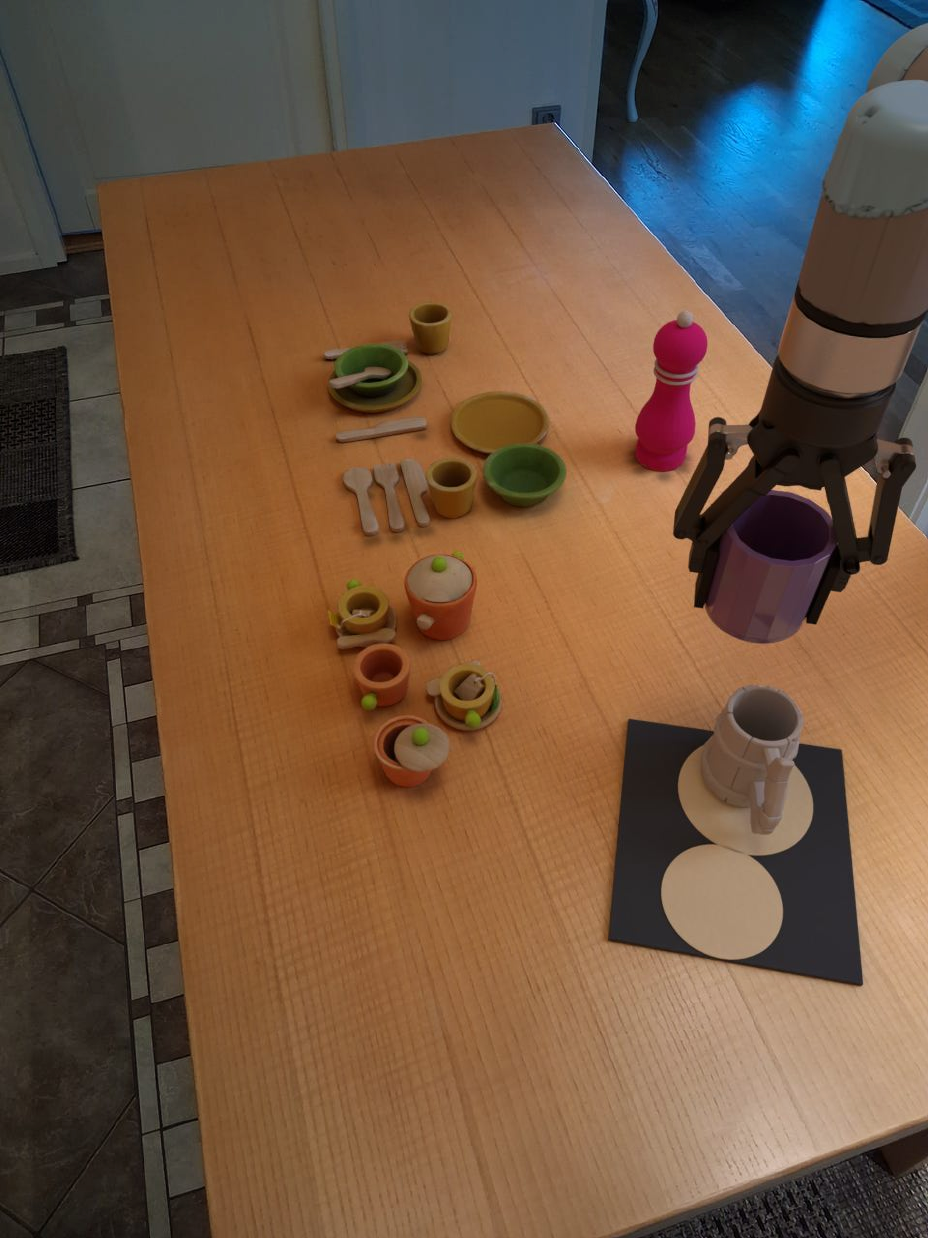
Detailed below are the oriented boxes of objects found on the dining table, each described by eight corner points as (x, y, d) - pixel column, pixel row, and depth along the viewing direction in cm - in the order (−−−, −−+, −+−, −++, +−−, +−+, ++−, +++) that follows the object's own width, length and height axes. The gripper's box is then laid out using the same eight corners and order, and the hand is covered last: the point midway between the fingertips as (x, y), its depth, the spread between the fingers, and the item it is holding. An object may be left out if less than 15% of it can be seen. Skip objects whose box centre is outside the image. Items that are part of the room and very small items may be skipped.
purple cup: (803, 577, 76) (834, 497, 69) (806, 651, 71) (840, 573, 64) (705, 563, 77) (726, 483, 70) (701, 635, 72) (723, 557, 65)
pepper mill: (648, 430, 117) (671, 288, 101) (698, 450, 114) (731, 307, 99) (620, 460, 113) (641, 316, 98) (672, 481, 110) (701, 337, 95)
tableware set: (319, 351, 130) (312, 312, 125) (504, 326, 134) (505, 286, 129) (355, 547, 104) (349, 506, 99) (585, 509, 107) (590, 468, 102)
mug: (772, 738, 85) (806, 661, 76) (802, 854, 78) (843, 784, 68) (692, 738, 85) (716, 662, 76) (713, 854, 78) (743, 784, 69)
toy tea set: (325, 605, 98) (312, 543, 91) (461, 576, 101) (459, 512, 93) (373, 812, 82) (362, 755, 74) (535, 770, 84) (539, 712, 77)
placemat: (840, 751, 85) (842, 748, 84) (861, 986, 71) (863, 984, 70) (628, 720, 88) (628, 717, 87) (608, 940, 74) (608, 938, 73)
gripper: (1004, 349, 57) (884, 588, 75) (671, 317, 60) (630, 554, 78) (1026, 420, 53) (892, 658, 70) (664, 382, 56) (621, 618, 73)
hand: (754, 603), depth 74 cm, fingers closed on purple cup, 8 cm apart
